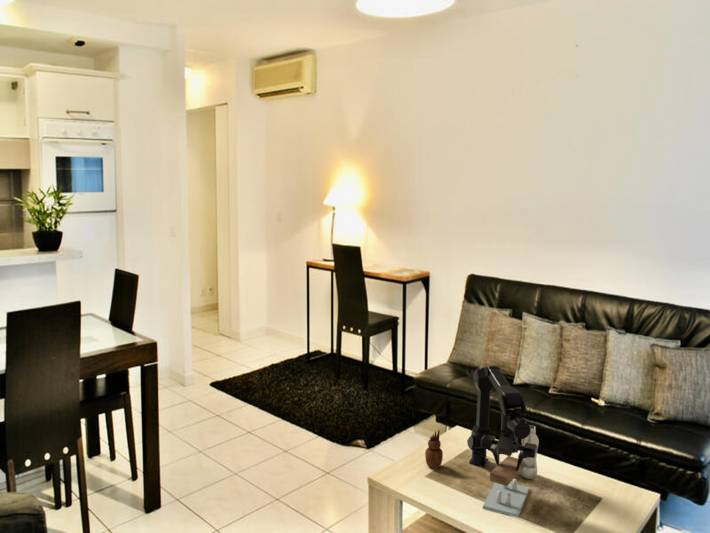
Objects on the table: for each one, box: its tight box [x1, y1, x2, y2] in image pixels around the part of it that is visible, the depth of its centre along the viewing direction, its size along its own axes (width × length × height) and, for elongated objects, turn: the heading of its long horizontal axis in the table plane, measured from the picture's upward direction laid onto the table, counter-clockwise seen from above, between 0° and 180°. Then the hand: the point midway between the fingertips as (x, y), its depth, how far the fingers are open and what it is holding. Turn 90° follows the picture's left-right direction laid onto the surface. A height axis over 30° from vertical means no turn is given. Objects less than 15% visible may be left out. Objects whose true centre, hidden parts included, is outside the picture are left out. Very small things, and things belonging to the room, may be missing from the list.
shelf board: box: [489, 455, 524, 486], centre depth 201 cm, size 16×6×3 cm, turn 143°
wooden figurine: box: [425, 429, 444, 469], centre depth 225 cm, size 7×6×15 cm
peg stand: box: [482, 478, 530, 518], centre depth 202 cm, size 20×12×5 cm, turn 153°
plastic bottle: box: [519, 424, 540, 480], centre depth 217 cm, size 6×7×20 cm
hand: (507, 468), depth 201 cm, fingers closed on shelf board, 6 cm apart
